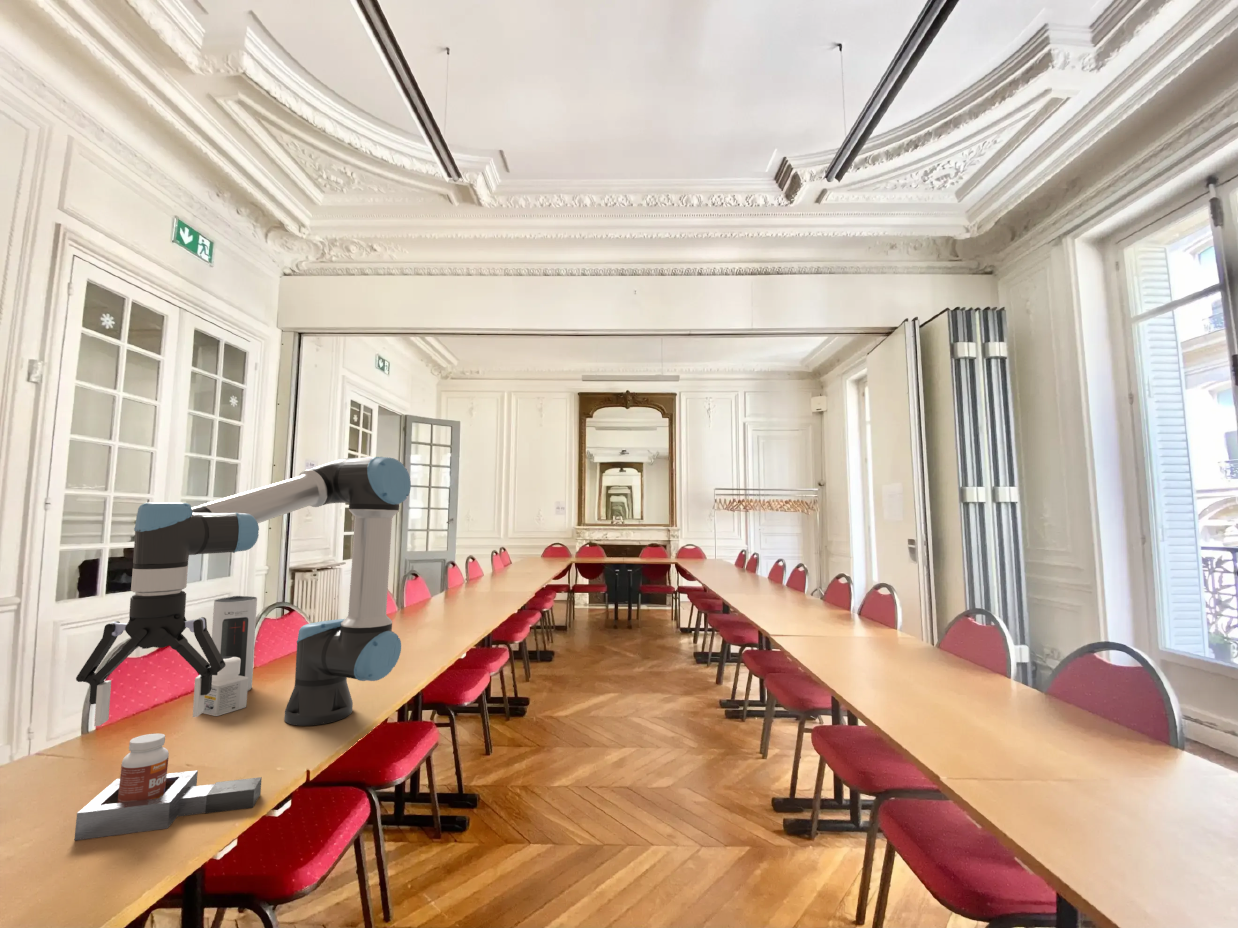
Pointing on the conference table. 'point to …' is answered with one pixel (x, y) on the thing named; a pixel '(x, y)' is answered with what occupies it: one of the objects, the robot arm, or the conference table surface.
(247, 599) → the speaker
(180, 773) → the grey square pan
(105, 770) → the conference table surface
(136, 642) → the robot arm
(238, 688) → the container
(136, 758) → the pill bottle
